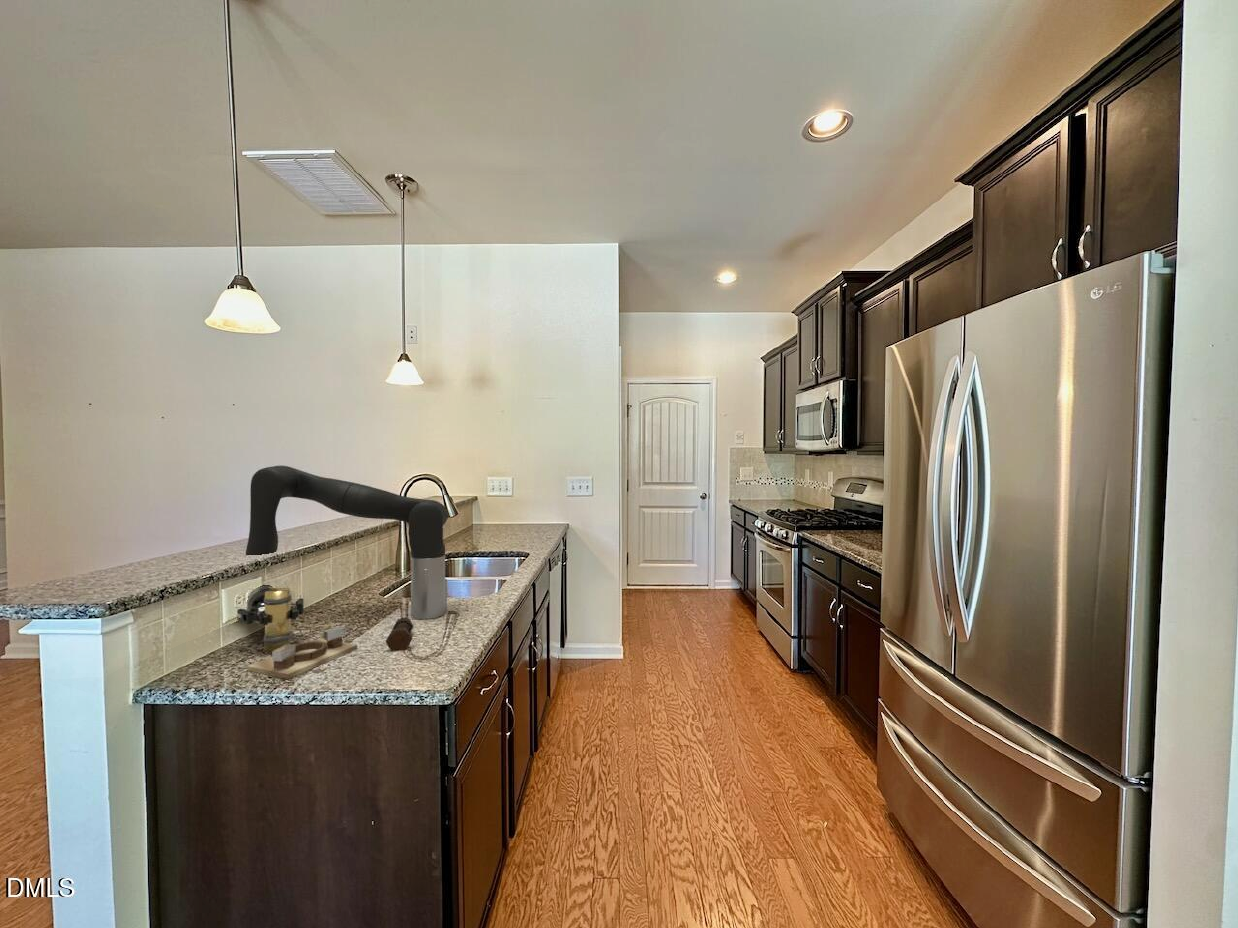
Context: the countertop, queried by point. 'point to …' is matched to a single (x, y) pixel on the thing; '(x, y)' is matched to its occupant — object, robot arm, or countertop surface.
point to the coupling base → (300, 665)
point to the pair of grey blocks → (289, 649)
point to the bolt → (400, 635)
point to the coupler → (277, 618)
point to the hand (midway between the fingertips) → (280, 617)
